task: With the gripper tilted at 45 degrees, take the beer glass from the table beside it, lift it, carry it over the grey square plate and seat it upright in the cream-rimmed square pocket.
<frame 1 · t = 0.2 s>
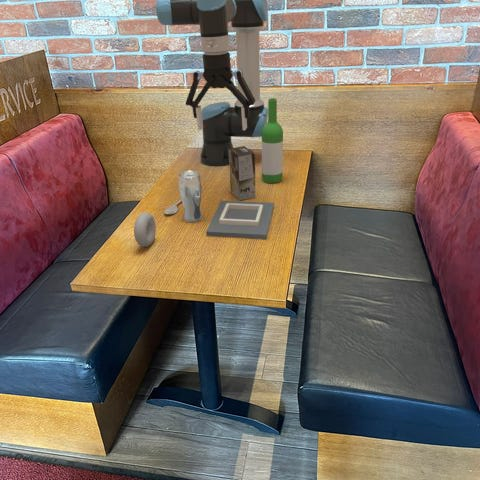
hand: (222, 128, 134), 28 cm above the table, tool pointing down, fingers open, 13 cm apart
donut: (147, 245, 132), on the table
spoon: (179, 205, 156), on the table
coffee box: (242, 194, 161), on the table
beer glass: (193, 218, 146), on the table
grey square plate: (242, 220, 143), on the table
wine bottle: (272, 180, 171), on the table
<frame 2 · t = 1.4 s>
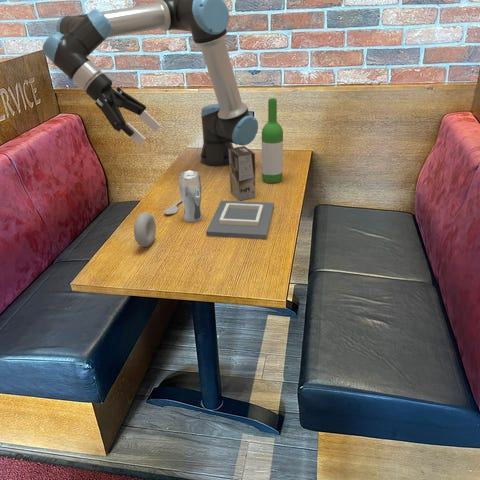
hand: (150, 135, 134), 27 cm above the table, tool tilted 45°, fingers open, 13 cm apart
nothing on the table moved.
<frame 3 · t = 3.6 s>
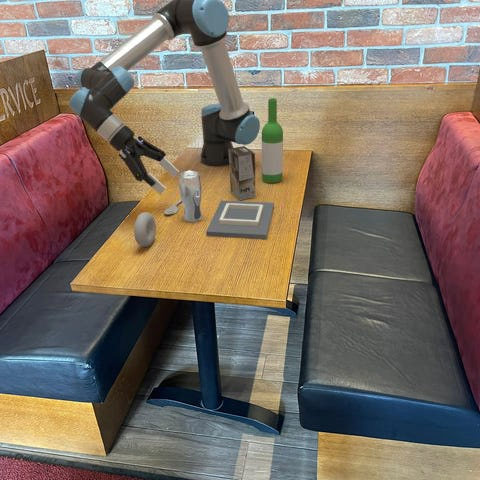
hand: (170, 182, 140), 12 cm above the table, tool tilted 45°, fingers open, 13 cm apart
nothing on the table moved.
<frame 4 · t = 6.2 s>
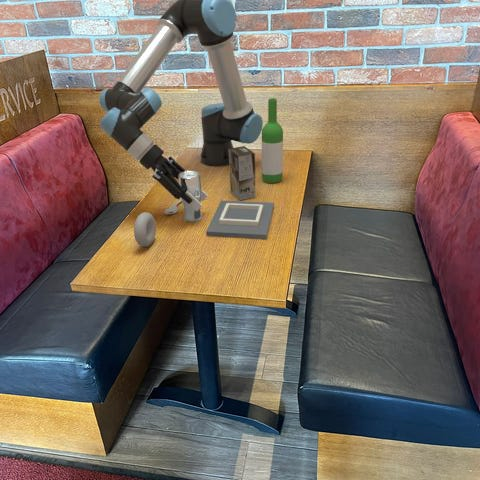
hand: (202, 203, 142), 5 cm above the table, tool tilted 45°, fingers closed on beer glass, 7 cm apart
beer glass: (193, 218, 146), on the table, touching gripper
everything else where it was.
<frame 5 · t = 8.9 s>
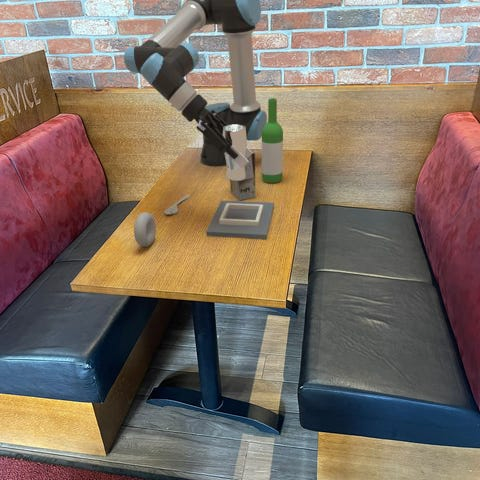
hand: (247, 160, 132), 20 cm above the table, tool tilted 45°, fingers closed on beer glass, 7 cm apart
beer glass: (236, 177, 136), point 15 cm above the table, touching gripper
everything else where it was.
when the fingers open (8 cm above the table, at t = 11.7 s): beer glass drops 1 cm, resting on grey square plate.
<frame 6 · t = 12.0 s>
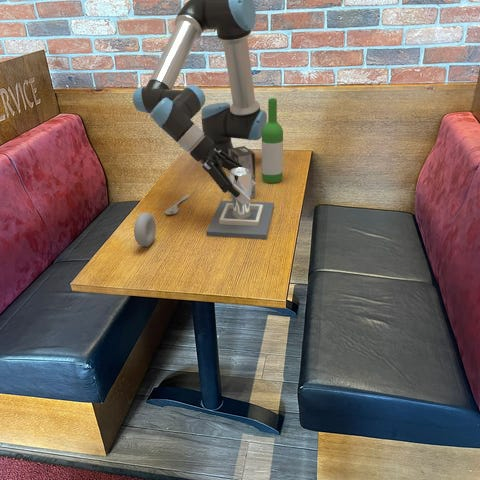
hand: (250, 194, 138), 9 cm above the table, tool tilted 45°, fingers open, 11 cm apart
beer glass: (241, 216, 143), point 1 cm above the table, touching grey square plate
everything else where it was.
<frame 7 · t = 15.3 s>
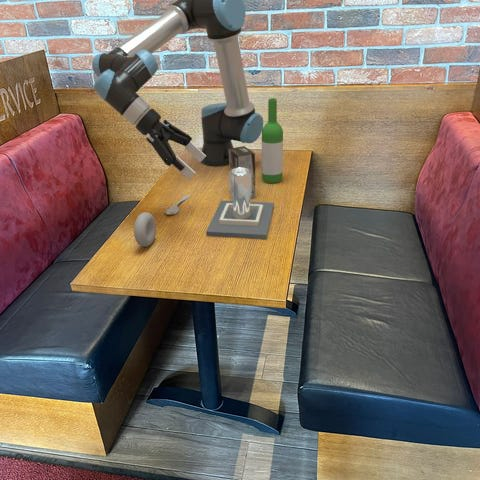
hand: (198, 167, 136), 18 cm above the table, tool tilted 45°, fingers open, 13 cm apart
nothing on the table moved.
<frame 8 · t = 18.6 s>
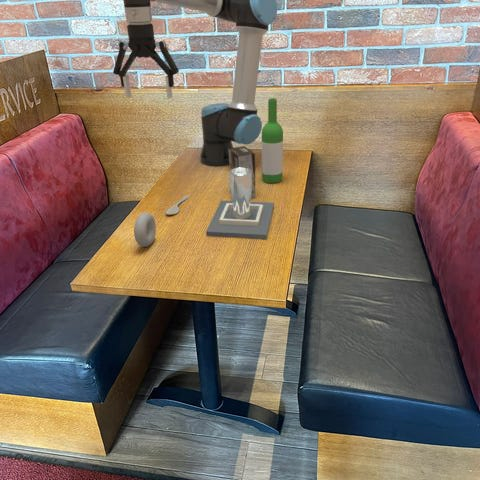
hand: (149, 97, 143), 35 cm above the table, tool pointing down, fingers open, 13 cm apart
nothing on the table moved.
at the end: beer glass 0.3 cm off-centre on the grey square plate, point 1.3 cm above the grey square plate's base; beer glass tilted 0°; the gripper is holding nothing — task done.
